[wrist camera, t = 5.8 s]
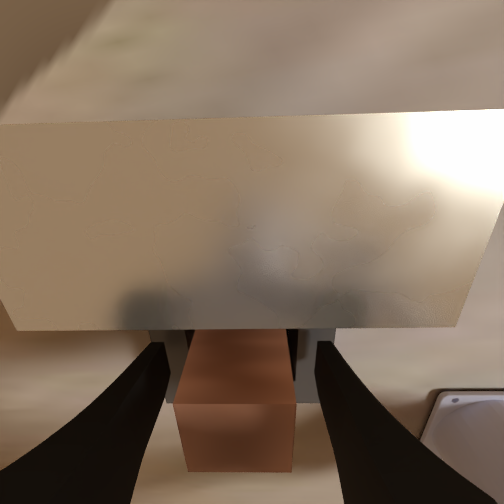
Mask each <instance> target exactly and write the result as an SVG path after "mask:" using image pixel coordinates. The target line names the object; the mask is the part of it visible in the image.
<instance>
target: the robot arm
mask: <svg viewBox="0 0 504 504" xmlns="http://www.w3.org/2000/svg"><path fill="white" fill-rule="evenodd" d="M170 375H171V371H170V366H169V362H168V357H167V353H166V348H165V344H164V342H151V343H150V344H149V345H148V346H147V347H146V348H145V349H144V350H143V351H142V352H141V354H140V355H139V356H138V357H137V358H136V359H135V360H134V361H133V362H132V363H131V364H130V365H129V366H128V368H127V369H126V370H125V371H124V372H123V373H122V374H121V375H120V376H119V377H118V378H117V379H116V380H115V381H114V382H113V383H112V384H111V385H110V386H109V387H108V388H107V389H106V390H105V391H104V392H103V393H102V394H100V395H99V396H98V397H97V398H96V399H95V400H94V401H93V402H92V403H91V404H90V405H89V406H87V407H86V408H85V409H84V410H83V411H82V412H80V413H79V414H78V415H77V416H76V417H75V418H73V419H72V420H71V421H70V422H68V423H67V424H66V425H64V426H63V427H62V428H61V429H59V430H58V431H57V432H55V433H54V434H53V435H51V436H50V437H49V438H47V439H46V440H45V441H43V442H42V443H41V444H39V445H38V446H37V447H35V448H34V449H32V450H31V451H29V452H28V453H27V454H25V455H24V456H22V457H21V458H19V459H18V460H16V461H15V462H13V463H12V464H10V465H9V466H7V467H6V468H4V469H3V470H1V471H0V504H130V502H131V499H132V495H133V491H134V487H135V483H136V480H137V476H138V473H139V469H140V465H141V462H142V459H143V456H144V453H145V450H146V447H147V444H148V441H149V439H150V436H151V433H152V431H153V428H154V425H155V422H156V420H157V417H158V414H159V412H160V409H161V406H162V403H163V401H164V398H165V395H166V391H167V387H168V383H169V379H170ZM314 375H315V381H316V387H317V392H318V397H319V401H320V404H321V408H322V411H323V415H324V418H325V422H326V425H327V429H328V433H329V436H330V440H331V443H332V447H333V450H334V455H335V459H336V463H337V468H338V473H339V478H340V483H341V489H342V494H343V499H344V504H504V391H446V392H442V393H440V394H439V395H438V398H437V400H436V403H435V405H434V408H433V410H432V412H431V415H430V417H429V420H428V422H427V425H426V427H425V430H424V432H423V434H422V437H421V439H420V441H419V440H418V439H417V438H416V437H415V436H413V435H412V434H411V433H410V432H409V431H408V430H407V429H406V428H405V427H404V426H403V425H402V424H401V423H400V422H399V421H397V420H396V419H395V418H394V417H393V416H392V415H391V414H390V413H389V412H388V411H387V409H386V408H385V407H384V406H383V405H382V404H381V403H380V402H379V401H378V400H377V399H376V398H375V396H374V395H373V394H372V393H371V392H370V391H369V390H368V389H367V387H366V386H365V385H364V384H363V383H362V381H361V380H360V379H359V378H358V376H357V375H356V374H355V373H354V371H353V370H352V369H351V368H350V366H349V365H348V364H347V362H346V361H345V360H344V358H343V357H342V355H341V354H340V353H339V351H338V350H337V348H336V347H335V345H334V344H333V343H332V342H331V341H317V349H316V359H315V368H314ZM442 459H443V460H442Z"/></svg>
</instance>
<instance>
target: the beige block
mask: <svg viewBox="0 0 504 504" xmlns="http://www.w3.org/2000/svg"><path fill="white" fill-rule="evenodd" d="M503 202H504V110H475V111H441V112H408V113H374V114H340V115H307V116H273V117H239V118H206V119H172V120H139V121H105V122H71V123H38V124H4V125H0V299H1V301H2V303H3V305H4V307H5V309H6V311H7V313H8V315H9V317H10V319H11V320H12V322H13V324H14V326H15V328H16V330H17V331H74V330H189V329H304V328H419V327H455V326H456V324H457V321H458V318H459V316H460V313H461V311H462V308H463V305H464V303H465V300H466V298H467V295H468V293H469V290H470V287H471V285H472V282H473V280H474V277H475V274H476V272H477V269H478V267H479V264H480V262H481V259H482V256H483V254H484V251H485V249H486V246H487V243H488V241H489V238H490V236H491V233H492V231H493V228H494V225H495V223H496V220H497V218H498V215H499V212H500V210H501V207H502V205H503Z"/></svg>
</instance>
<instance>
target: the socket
mask: <svg viewBox="0 0 504 504" xmlns="http://www.w3.org/2000/svg"><path fill="white" fill-rule="evenodd" d="M335 332H336V328H304V329H289V334H288V336H287V341H288V348H289V355H290V362H291V369H292V376H293V383H294V390H295V397H296V403H320V401H319V397H318V392H317V387H316V381H315V375H314V368H315V359H316V349H317V341H331V342H332V343H333V344H334V339H335ZM194 333H195V329H189V330H149V334H150V339H151V342H164V344H165V348H166V353H167V357H168V362H169V366H170V371H171V375H170V379H169V383H168V387H167V391H166V395H165V399H166V403H173V402H174V398H175V395H176V392H177V388H178V385H179V382H180V379H181V375H182V372H183V369H184V365H185V362H186V359H187V356H188V352H189V349H190V346H191V342H192V339H193V336H194Z"/></svg>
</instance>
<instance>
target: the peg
mask: <svg viewBox="0 0 504 504" xmlns="http://www.w3.org/2000/svg"><path fill="white" fill-rule="evenodd" d="M296 405H297V404H296V397H295V390H294V383H293V376H292V369H291V362H290V355H289V348H288V341H287V335H286V329H195V333H194V336H193V339H192V342H191V346H190V349H189V352H188V356H187V359H186V362H185V365H184V369H183V372H182V375H181V379H180V382H179V385H178V388H177V392H176V395H175V398H174V402H173V407H174V412H175V416H176V420H177V425H178V429H179V434H180V438H181V442H182V447H183V451H184V455H185V460H186V464H187V468H188V472H292V458H293V445H294V431H295V418H296Z"/></svg>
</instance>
